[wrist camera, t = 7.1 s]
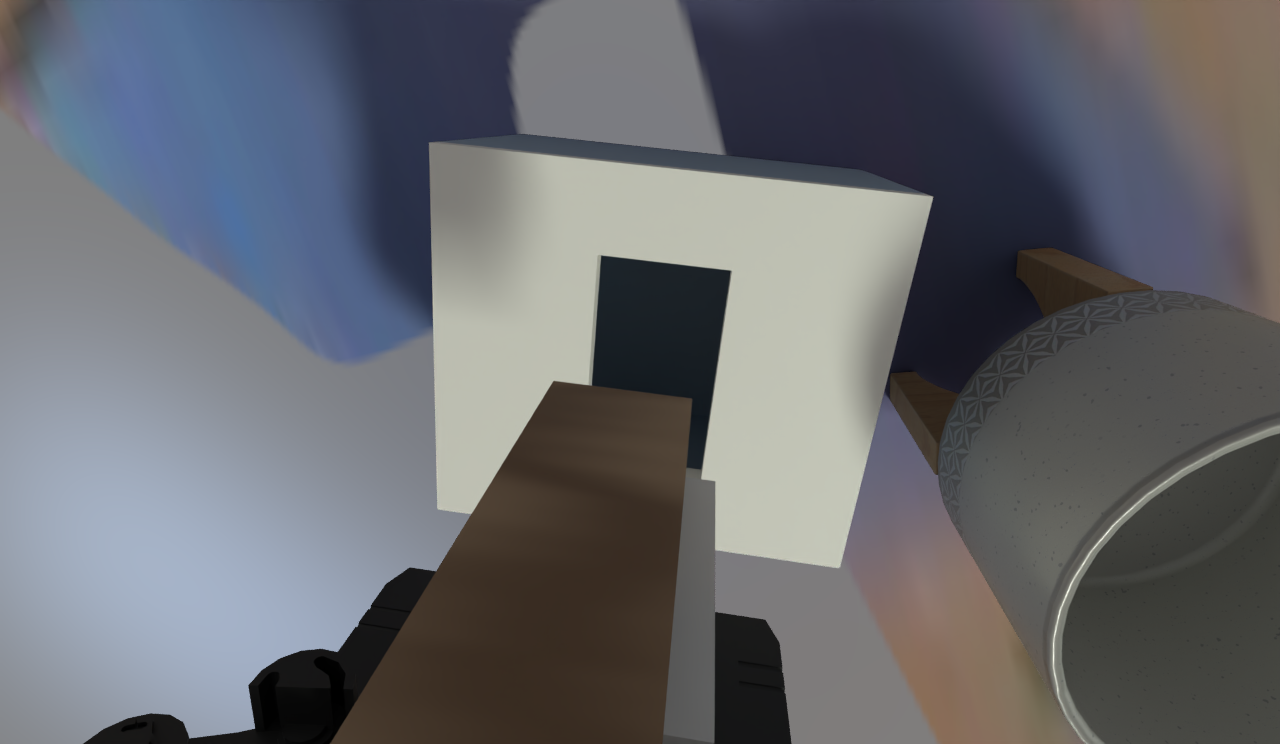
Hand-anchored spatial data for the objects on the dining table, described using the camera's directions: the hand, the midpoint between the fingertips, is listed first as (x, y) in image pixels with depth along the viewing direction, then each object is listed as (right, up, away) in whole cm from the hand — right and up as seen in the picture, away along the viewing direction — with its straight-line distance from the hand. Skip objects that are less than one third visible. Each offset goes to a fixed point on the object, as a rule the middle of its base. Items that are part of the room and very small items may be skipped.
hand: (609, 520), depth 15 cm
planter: (+20, +3, +18) cm, 27 cm away
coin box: (+2, +7, +19) cm, 20 cm away
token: (0, 0, 0) cm, 0 cm away
